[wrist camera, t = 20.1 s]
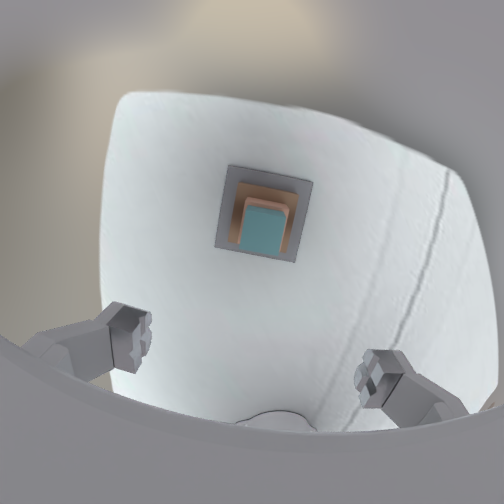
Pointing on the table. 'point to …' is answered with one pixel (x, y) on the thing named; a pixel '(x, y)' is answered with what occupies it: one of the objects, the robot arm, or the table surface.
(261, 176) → the mat
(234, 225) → the base brick
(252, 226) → the teal cube
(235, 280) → the table surface
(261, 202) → the terracotta cube
